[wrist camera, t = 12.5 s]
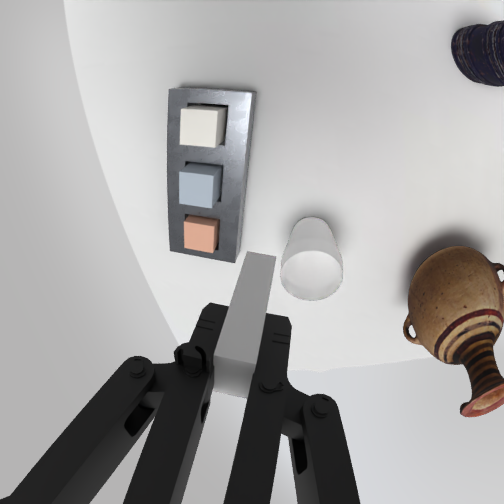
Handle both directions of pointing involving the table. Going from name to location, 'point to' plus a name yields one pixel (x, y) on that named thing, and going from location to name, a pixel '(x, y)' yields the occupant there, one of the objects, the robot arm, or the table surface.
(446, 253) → the vase
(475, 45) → the storage jar
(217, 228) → the terracotta key
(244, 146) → the panel
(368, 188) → the table surface
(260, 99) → the table surface
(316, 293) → the cup
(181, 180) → the slate key
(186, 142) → the ivory key
